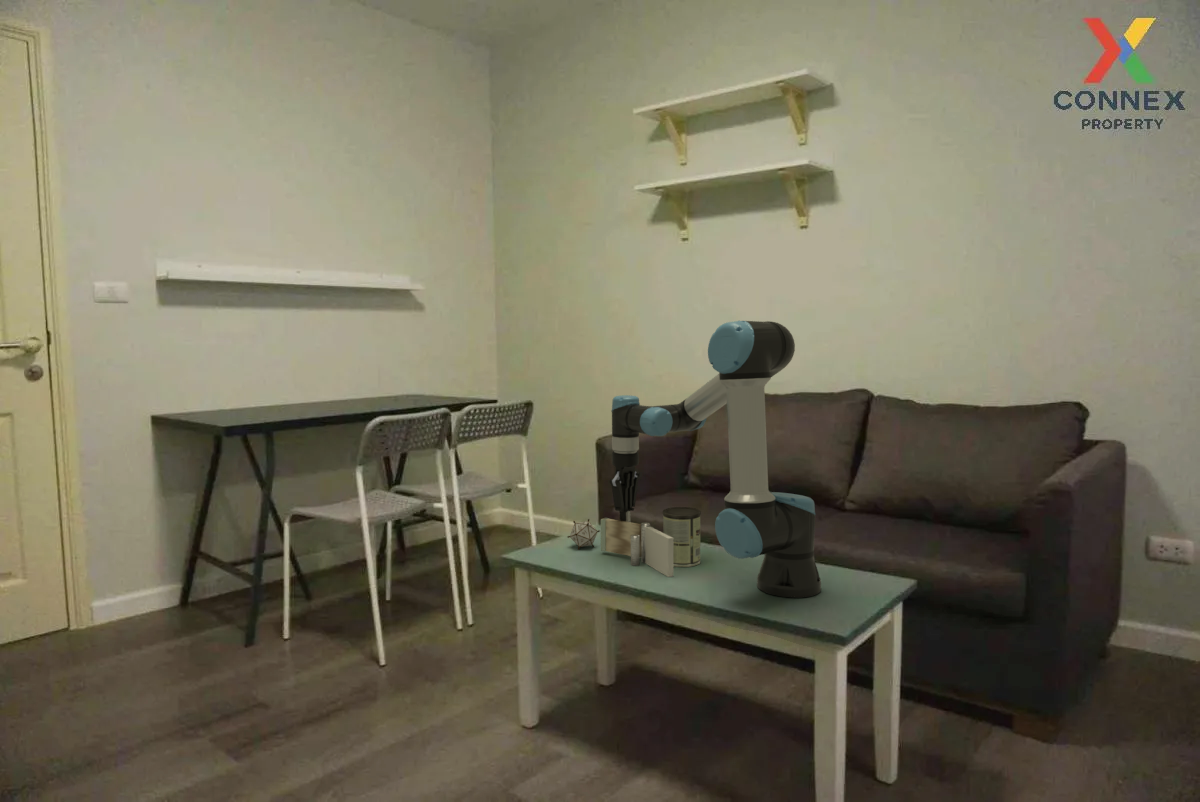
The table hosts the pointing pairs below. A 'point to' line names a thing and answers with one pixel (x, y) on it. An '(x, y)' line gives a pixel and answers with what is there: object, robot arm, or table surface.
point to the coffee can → (683, 534)
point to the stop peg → (635, 550)
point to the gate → (618, 536)
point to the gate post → (643, 540)
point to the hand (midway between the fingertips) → (625, 533)
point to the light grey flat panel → (659, 551)
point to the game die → (583, 534)
